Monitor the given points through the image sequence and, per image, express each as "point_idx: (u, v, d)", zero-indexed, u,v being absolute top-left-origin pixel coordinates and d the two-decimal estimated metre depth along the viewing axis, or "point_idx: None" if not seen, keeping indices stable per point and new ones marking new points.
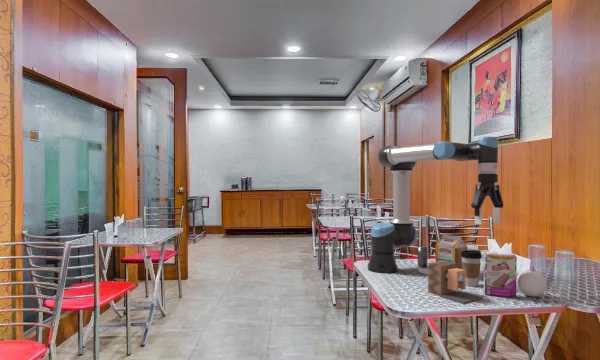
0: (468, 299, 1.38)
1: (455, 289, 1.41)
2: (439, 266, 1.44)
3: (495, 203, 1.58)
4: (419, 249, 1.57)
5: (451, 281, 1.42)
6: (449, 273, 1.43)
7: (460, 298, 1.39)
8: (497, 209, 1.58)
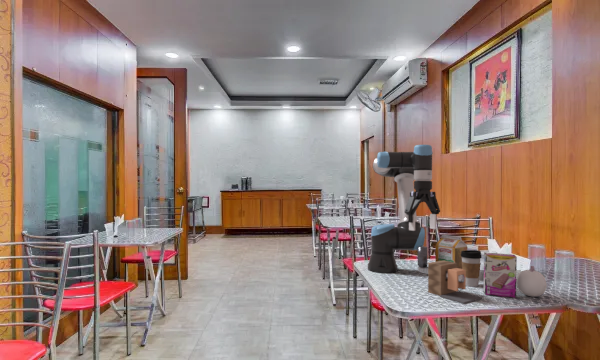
0: (468, 299, 1.38)
1: (455, 289, 1.41)
2: (439, 266, 1.44)
3: (431, 209, 1.61)
4: (419, 249, 1.57)
5: (451, 281, 1.42)
6: (449, 273, 1.43)
7: (460, 298, 1.39)
8: (433, 215, 1.60)
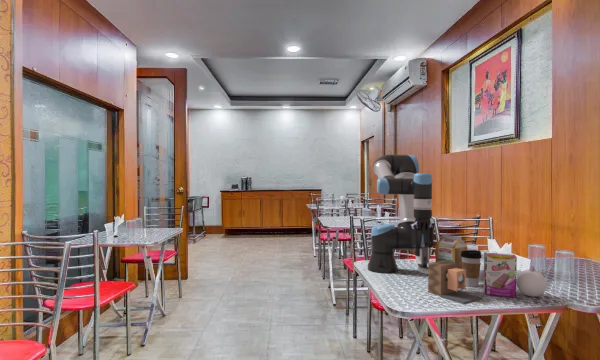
0: (468, 299, 1.38)
1: (455, 289, 1.41)
2: (439, 266, 1.44)
3: (426, 241, 1.59)
4: None
5: (451, 281, 1.42)
6: (449, 273, 1.43)
7: (460, 298, 1.39)
8: None
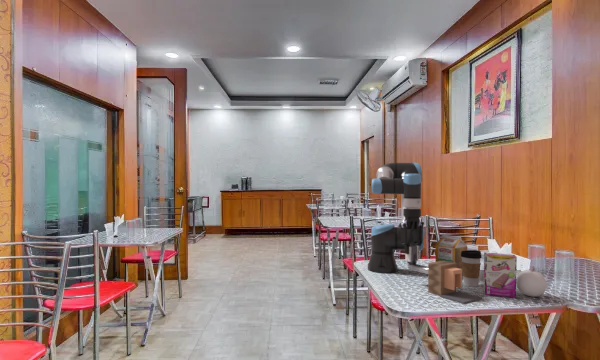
0: (468, 299, 1.38)
1: (452, 288, 1.42)
2: (439, 266, 1.44)
3: (415, 240, 1.64)
4: None
5: (447, 280, 1.44)
6: (446, 272, 1.44)
7: (460, 298, 1.39)
8: None
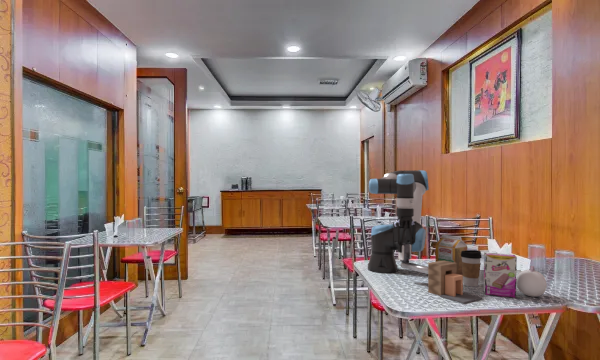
0: (468, 299, 1.38)
1: (452, 294, 1.42)
2: (439, 266, 1.44)
3: (408, 238, 1.67)
4: None
5: (448, 287, 1.43)
6: (446, 278, 1.44)
7: (460, 298, 1.39)
8: None
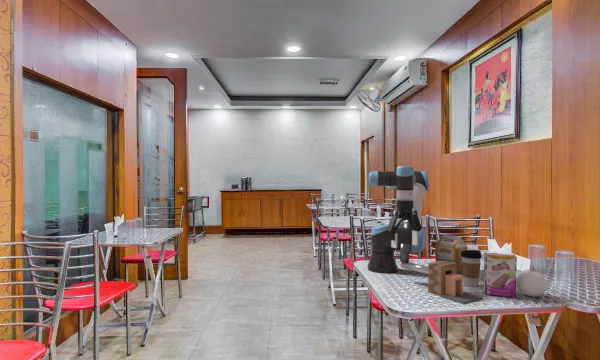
0: (468, 299, 1.38)
1: (452, 294, 1.42)
2: (439, 266, 1.44)
3: (413, 227, 1.70)
4: (401, 246, 1.65)
5: (448, 287, 1.43)
6: (446, 278, 1.44)
7: (460, 298, 1.39)
8: (415, 232, 1.69)
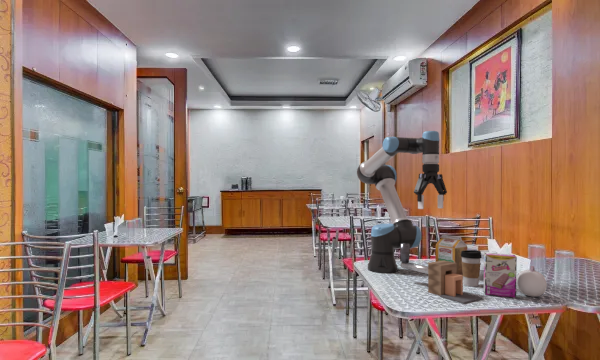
0: (468, 299, 1.38)
1: (452, 294, 1.42)
2: (439, 266, 1.44)
3: (439, 191, 1.76)
4: (401, 246, 1.65)
5: (448, 287, 1.43)
6: (446, 278, 1.44)
7: (460, 298, 1.39)
8: (440, 196, 1.76)
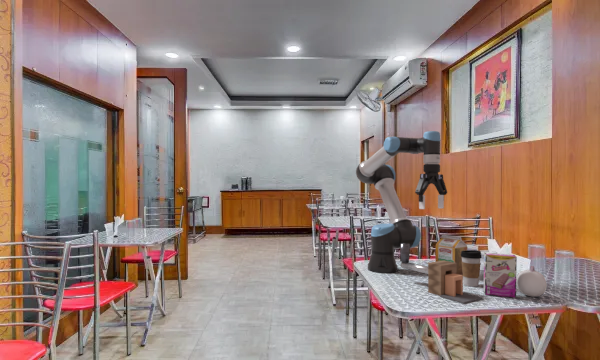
0: (468, 299, 1.38)
1: (452, 294, 1.42)
2: (439, 266, 1.44)
3: (439, 191, 1.76)
4: (401, 246, 1.65)
5: (448, 287, 1.43)
6: (446, 278, 1.44)
7: (460, 298, 1.39)
8: (441, 196, 1.76)
